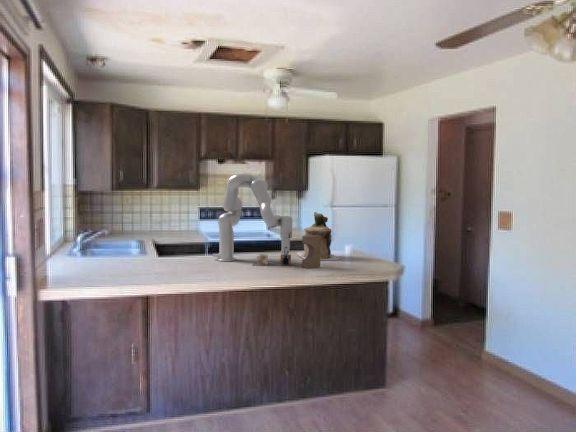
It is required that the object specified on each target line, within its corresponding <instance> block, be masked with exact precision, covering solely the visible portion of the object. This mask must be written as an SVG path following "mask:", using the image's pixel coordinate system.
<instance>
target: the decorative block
mask: <svg viewBox="0 0 576 432" xmlns="http://www.w3.org/2000/svg"><path fill="white" fill-rule="evenodd" d="M301 240H302V242H301V243H302V244H303V245H304V244H306V245H307V246H308V248H309V254H308V256H307V257H306V258H305V259H302V260H301V268H302V269H303V268H304V269H313V268H321V261H320V250H321V236H320V235H308V236H305V235H302V239H301Z"/></svg>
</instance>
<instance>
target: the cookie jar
mask: <svg viewBox="0 0 576 432" xmlns="http://www.w3.org/2000/svg"><path fill="white" fill-rule="evenodd" d="M313 216H314V223H313V224H312V225H311V226H308V227H305V228H304V232H305V235H304V236H308V235H320V236H321V250H320V262H321V261H322V262H323V261H339V260H340V257H339V256H336V255H335V254H333V253H331V252H332V251H331V248H330V247H331V244H332V232H333V231H332V228H329V226H327V223H328V220H329V218H328V217H327V216H324V215H323V213H318V212H316V211H315V212H314V213H313ZM303 250H304V252H296V253H297V256H298V257H300V258H301V259H302V260H304V259H305V258H306V257H307V256H308V254H309V248H308V246H307V245H306V244H303Z"/></svg>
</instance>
